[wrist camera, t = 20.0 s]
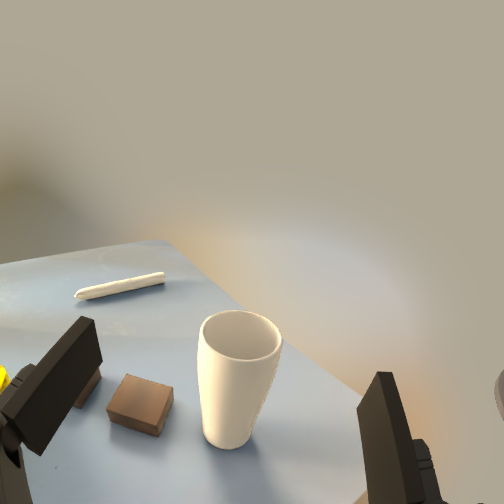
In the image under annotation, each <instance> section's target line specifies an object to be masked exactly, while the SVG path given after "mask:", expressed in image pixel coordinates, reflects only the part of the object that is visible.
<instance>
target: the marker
mask: <svg viewBox="0 0 504 504" xmlns="http://www.w3.org/2000/svg"><path fill="white" fill-rule="evenodd" d="M165 280H166V279H165V274H164V273H163V272H159V273H155V274H150V275H145V276H140V277H135V278H129V279H126V280H120V281H115V282H111V283H106V284H102V285H97V286H92V287H87V288H84V289H81V290H80V291H78V292H77V293H76V294H75V296H74V297H76V298H78V299H82V300H88V299H92V298H97V297H102V296H106V295H111V294H115V293H120V292H124V291H129V290H133V289H138V288H142V287H147V286H151V285H155V284H160V283H164V282H165Z"/></svg>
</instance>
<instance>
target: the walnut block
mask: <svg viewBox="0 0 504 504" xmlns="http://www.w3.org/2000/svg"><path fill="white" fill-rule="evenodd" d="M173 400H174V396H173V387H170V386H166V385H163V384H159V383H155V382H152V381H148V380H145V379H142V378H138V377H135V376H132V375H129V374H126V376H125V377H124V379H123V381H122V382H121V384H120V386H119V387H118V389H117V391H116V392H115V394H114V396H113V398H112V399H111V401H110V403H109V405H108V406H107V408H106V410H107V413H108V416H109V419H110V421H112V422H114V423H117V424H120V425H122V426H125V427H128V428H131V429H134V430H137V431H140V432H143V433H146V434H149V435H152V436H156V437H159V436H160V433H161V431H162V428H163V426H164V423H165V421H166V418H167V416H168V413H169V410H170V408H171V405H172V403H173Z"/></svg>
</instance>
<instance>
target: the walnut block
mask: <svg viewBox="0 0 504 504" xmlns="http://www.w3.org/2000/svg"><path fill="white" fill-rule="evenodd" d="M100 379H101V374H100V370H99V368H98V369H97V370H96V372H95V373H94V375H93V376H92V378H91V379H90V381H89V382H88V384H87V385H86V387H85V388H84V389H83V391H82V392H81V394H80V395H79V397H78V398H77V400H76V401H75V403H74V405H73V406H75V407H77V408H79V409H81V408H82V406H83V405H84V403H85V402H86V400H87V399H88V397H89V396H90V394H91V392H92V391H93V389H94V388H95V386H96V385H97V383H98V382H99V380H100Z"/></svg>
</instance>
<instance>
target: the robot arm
mask: <svg viewBox="0 0 504 504" xmlns="http://www.w3.org/2000/svg"><path fill="white" fill-rule="evenodd" d="M102 362H103V360H102V355H101V351H100V347H99V342H98V338H97V333H96V328H95V323H94V320H93V319H90V318H87V317H84V316H81V317H80V318H79V319H78V320H77V321H76V322H75V323H74V324H73V325H72V326H71V327H70V328H69V329H68V330H67V332H66V333H65V334H64V335H63V336H62V337H61V338H60V339H59V340H58V341H57V343H56V344H55V345H54V346H53V347H52V348H51V349H50V350H49V352H48V353H47V354H46V355H45V356H44V357H43V358H42V360H41V361H40V362H39V363H38V364H37V365H36V366H35V365H33V364H29V365H27V366H25V367H24V368H22V369H21V370H20V371H19V372H18V374H17V375H16V376H15V378H13V379H12V381H11V382H10V384H8V385H7V387H6V388H5V389H4V390H3V391H2V393H1V394H0V504H33V502H32V498H31V494H30V490H29V486H28V482H27V477H26V472H25V467H24V461H23V455H22V450H21V447H20V444H21V443H22V442H23V443H24V444H25V446H26V447H27V448H28V449H29V450H31V451H32V452H34V453H36V454H37V455H39V456H41V455H42V454H43V452H44V450H45V449H46V447H47V445H48V444H49V442H50V441H51V439H52V437H53V436H54V434H55V433H56V431H57V429H58V428H59V426H60V425H61V423H62V421H63V420H64V418H65V417H66V415H67V414H68V412H69V411H70V409H71V408H72V406H73V405H74V403H75V401H76V400H77V398H78V397H79V395H80V394H81V392H82V391H83V389H84V388H85V387H86V385H87V384H88V382H89V381H90V379H91V378H92V376H93V375H94V373H95V372H96V370H97V369H98V368H99V366H100V365H101V363H102ZM357 415H358V421H359V427H360V434H361V441H362V448H363V456H364V464H365V472H366V481H367V490H368V500H369V504H448V503H447V502H445V501H443V500H442V498H441V495H440V490H439V486H438V482H437V478H436V474H435V470H434V468H433V467H434V466H433V463H432V460H431V455H430V451H429V448H428V446H427V445H426V444H425V442H424V441H423V440H422V439H414V440H412V437H411V434H410V430H409V426H408V423H407V419H406V416H405V412H404V409H403V406H402V402H401V399H400V396H399V392H398V389H397V386H396V383H395V380H394V377H393V374H392V372H377V373H376V375H375V377H374V379H373V381H372V383H371V384H370V386H369V388H368V390H367V392H366V394H365V395H364V397H363V399H362V400H361V402H360V404H359V406H358V407H357ZM479 504H483V503H479Z"/></svg>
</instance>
